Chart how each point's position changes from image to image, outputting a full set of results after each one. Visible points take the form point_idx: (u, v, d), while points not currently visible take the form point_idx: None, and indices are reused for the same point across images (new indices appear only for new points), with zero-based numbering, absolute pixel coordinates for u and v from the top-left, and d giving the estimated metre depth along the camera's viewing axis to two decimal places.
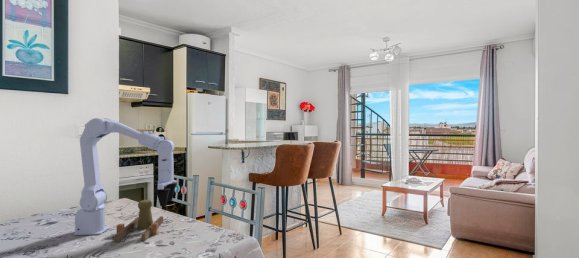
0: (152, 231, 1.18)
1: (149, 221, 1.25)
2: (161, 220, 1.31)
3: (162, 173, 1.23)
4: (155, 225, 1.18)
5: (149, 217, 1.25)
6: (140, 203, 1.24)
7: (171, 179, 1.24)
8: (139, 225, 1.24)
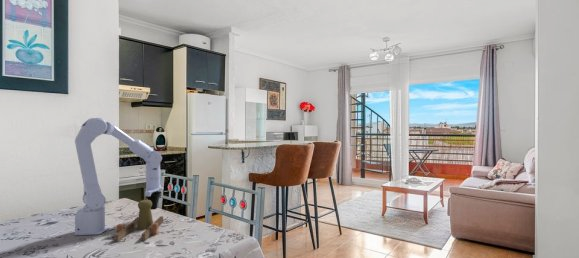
0: (152, 231, 1.18)
1: (149, 221, 1.25)
2: (161, 220, 1.31)
3: (149, 181, 1.33)
4: (155, 225, 1.18)
5: (149, 217, 1.25)
6: (140, 203, 1.24)
7: (158, 186, 1.35)
8: (139, 225, 1.24)
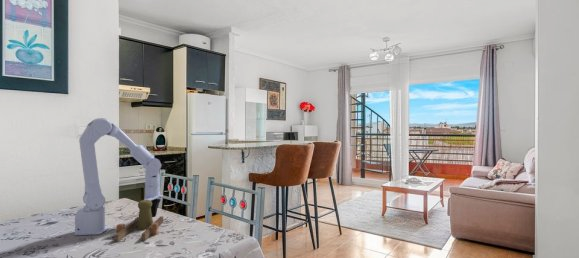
0: (152, 231, 1.18)
1: (149, 221, 1.25)
2: (161, 220, 1.31)
3: (149, 189, 1.32)
4: (155, 225, 1.18)
5: (149, 217, 1.25)
6: (140, 203, 1.24)
7: (157, 194, 1.34)
8: (139, 225, 1.24)
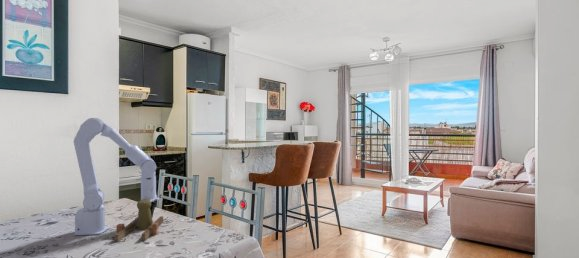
0: (152, 231, 1.18)
1: (149, 221, 1.25)
2: (161, 220, 1.31)
3: (144, 191, 1.27)
4: (155, 225, 1.18)
5: (149, 217, 1.25)
6: (139, 204, 1.23)
7: (153, 197, 1.29)
8: (139, 225, 1.24)
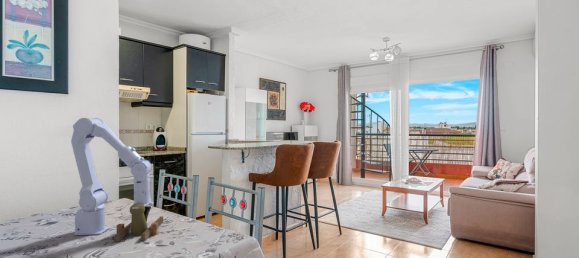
0: (152, 231, 1.18)
1: (143, 226, 1.18)
2: (161, 220, 1.31)
3: (137, 195, 1.20)
4: (155, 225, 1.18)
5: (142, 222, 1.18)
6: (132, 209, 1.16)
7: (147, 201, 1.22)
8: (132, 230, 1.17)
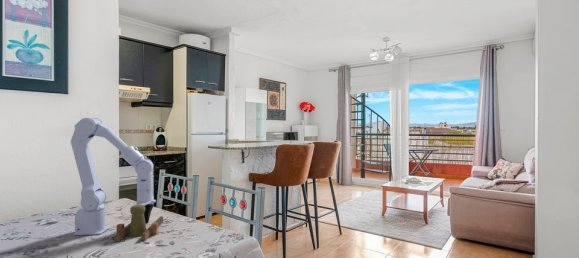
0: (152, 231, 1.18)
1: (142, 227, 1.18)
2: (161, 220, 1.31)
3: (140, 193, 1.23)
4: (155, 225, 1.18)
5: (142, 223, 1.18)
6: (132, 208, 1.17)
7: (150, 199, 1.25)
8: (131, 232, 1.17)
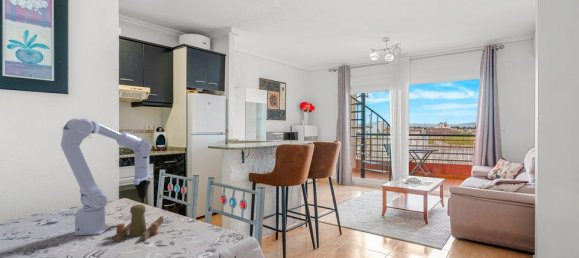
0: (152, 231, 1.18)
1: (142, 227, 1.18)
2: (161, 220, 1.31)
3: (138, 170, 1.34)
4: (155, 225, 1.18)
5: (142, 223, 1.18)
6: (132, 208, 1.17)
7: (146, 175, 1.35)
8: (131, 231, 1.17)
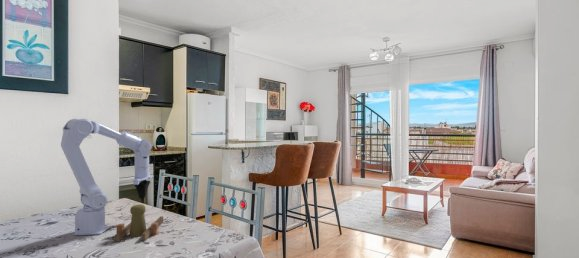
0: (152, 231, 1.18)
1: (142, 227, 1.18)
2: (161, 220, 1.31)
3: (138, 170, 1.34)
4: (155, 225, 1.18)
5: (142, 223, 1.18)
6: (132, 208, 1.17)
7: (146, 175, 1.35)
8: (131, 231, 1.17)
